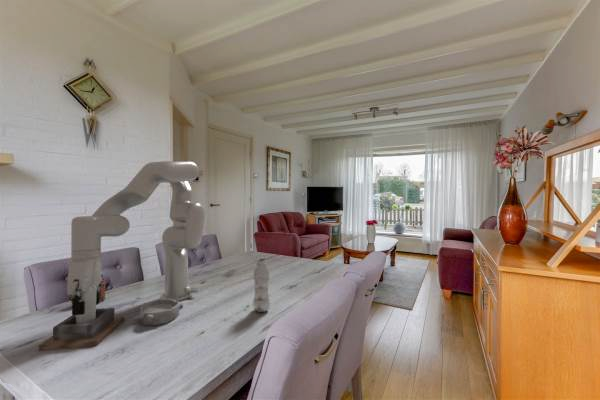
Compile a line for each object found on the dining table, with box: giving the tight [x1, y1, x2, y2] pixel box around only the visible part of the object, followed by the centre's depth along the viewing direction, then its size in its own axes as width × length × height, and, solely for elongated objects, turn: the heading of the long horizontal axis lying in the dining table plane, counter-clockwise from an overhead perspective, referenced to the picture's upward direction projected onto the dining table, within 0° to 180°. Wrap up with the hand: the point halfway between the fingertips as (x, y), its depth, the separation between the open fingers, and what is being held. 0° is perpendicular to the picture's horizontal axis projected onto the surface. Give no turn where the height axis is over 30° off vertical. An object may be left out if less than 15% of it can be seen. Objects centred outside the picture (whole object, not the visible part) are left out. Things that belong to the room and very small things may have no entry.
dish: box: [138, 298, 184, 326], centre depth 99 cm, size 14×14×5 cm
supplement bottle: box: [99, 273, 106, 303], centre depth 114 cm, size 6×6×11 cm
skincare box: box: [76, 286, 97, 324], centre depth 87 cm, size 6×4×12 cm
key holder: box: [38, 307, 125, 351], centre depth 87 cm, size 15×17×6 cm
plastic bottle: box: [252, 258, 271, 313], centre depth 105 cm, size 6×7×20 cm
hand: (86, 308), depth 87 cm, fingers closed on skincare box, 7 cm apart
